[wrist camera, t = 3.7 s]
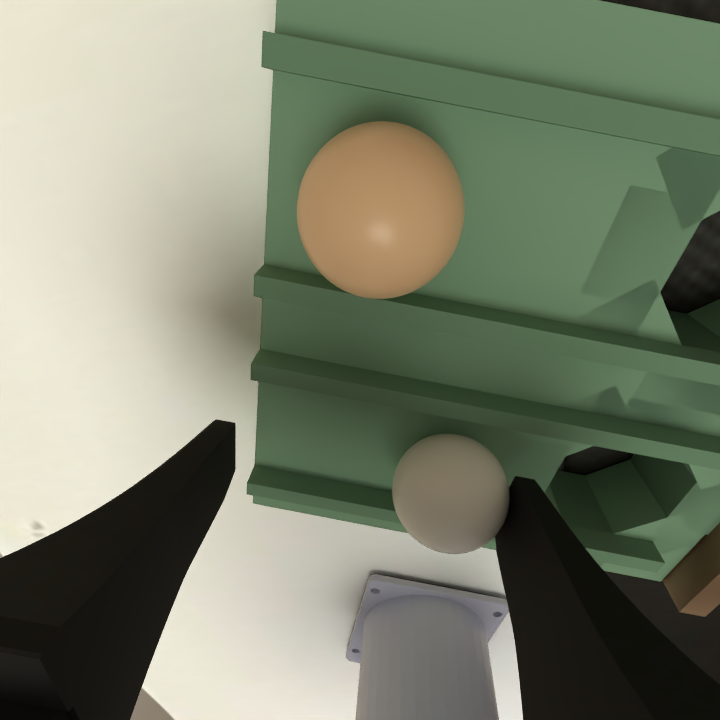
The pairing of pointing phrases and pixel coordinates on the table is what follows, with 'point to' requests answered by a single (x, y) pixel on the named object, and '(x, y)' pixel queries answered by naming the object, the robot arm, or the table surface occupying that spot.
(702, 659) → the table surface
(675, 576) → the backstop
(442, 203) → the ball orange
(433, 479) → the ball white
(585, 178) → the green egg tray
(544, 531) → the robot arm
